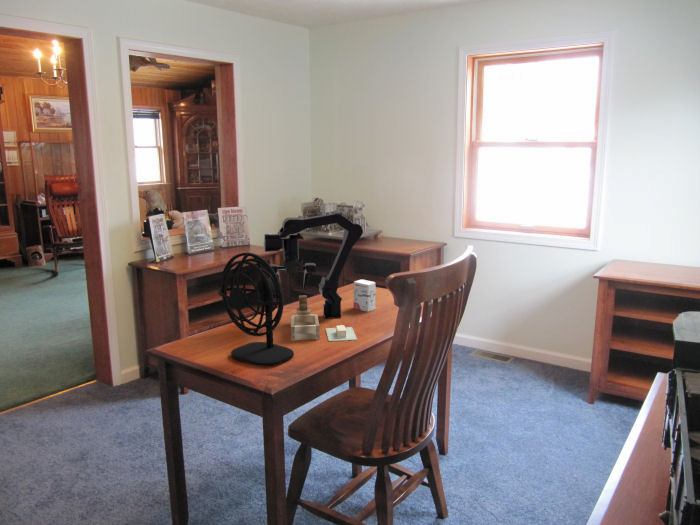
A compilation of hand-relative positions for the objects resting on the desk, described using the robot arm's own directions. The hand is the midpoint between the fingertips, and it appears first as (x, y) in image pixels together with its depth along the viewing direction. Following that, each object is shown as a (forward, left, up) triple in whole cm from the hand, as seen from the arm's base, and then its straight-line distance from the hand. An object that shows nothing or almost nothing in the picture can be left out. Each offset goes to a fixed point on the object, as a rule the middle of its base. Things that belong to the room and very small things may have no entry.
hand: (292, 289), depth 220 cm
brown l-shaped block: (-4, +5, -6) cm, 9 cm away
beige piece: (-4, +15, -12) cm, 20 cm away
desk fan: (+12, +39, -12) cm, 43 cm away
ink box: (-30, -10, -12) cm, 34 cm away
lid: (-17, +21, -13) cm, 30 cm away
